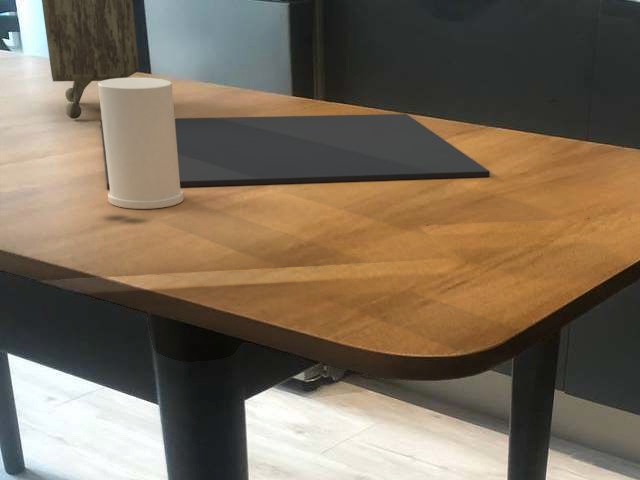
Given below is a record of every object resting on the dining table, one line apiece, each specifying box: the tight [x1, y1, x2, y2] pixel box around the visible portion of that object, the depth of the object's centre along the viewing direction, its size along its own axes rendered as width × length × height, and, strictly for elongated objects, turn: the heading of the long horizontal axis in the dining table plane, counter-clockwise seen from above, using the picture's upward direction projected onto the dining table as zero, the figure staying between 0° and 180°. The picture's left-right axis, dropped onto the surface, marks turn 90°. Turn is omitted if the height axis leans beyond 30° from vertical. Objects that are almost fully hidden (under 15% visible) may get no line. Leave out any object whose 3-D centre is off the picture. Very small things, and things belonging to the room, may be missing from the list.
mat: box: [99, 113, 491, 191], centre depth 108 cm, size 34×30×1 cm
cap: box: [97, 77, 185, 210], centre depth 87 cm, size 6×6×9 cm
